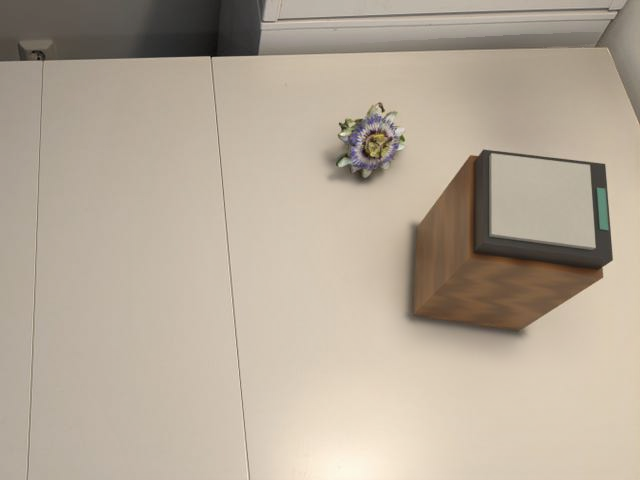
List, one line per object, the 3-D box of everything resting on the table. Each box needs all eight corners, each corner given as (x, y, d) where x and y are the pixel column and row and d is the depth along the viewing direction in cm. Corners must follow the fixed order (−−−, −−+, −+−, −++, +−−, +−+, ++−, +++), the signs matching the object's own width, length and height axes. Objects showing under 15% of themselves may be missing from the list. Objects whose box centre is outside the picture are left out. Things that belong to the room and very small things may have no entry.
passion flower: (355, 192, 100) (338, 178, 90) (334, 139, 102) (315, 119, 92) (419, 160, 94) (409, 141, 84) (395, 104, 96) (383, 78, 86)
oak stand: (517, 240, 90) (595, 169, 73) (519, 331, 85) (603, 277, 68) (416, 227, 92) (470, 154, 74) (412, 315, 87) (469, 259, 70)
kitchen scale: (592, 175, 73) (608, 160, 70) (598, 269, 68) (617, 258, 66) (474, 161, 74) (485, 146, 71) (473, 252, 70) (485, 240, 67)
